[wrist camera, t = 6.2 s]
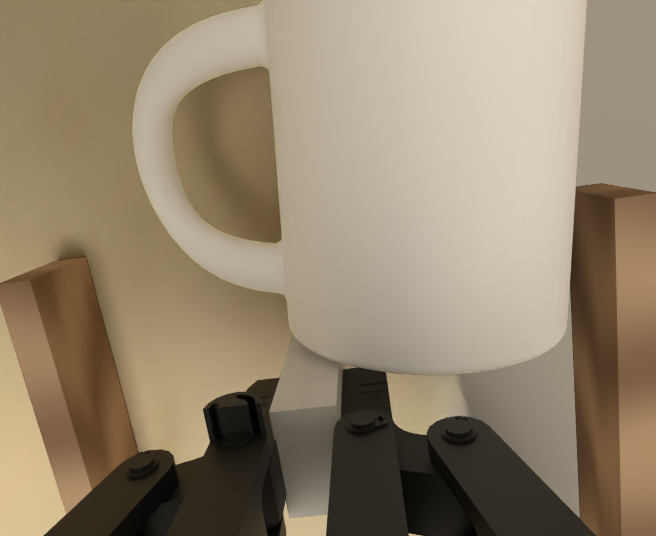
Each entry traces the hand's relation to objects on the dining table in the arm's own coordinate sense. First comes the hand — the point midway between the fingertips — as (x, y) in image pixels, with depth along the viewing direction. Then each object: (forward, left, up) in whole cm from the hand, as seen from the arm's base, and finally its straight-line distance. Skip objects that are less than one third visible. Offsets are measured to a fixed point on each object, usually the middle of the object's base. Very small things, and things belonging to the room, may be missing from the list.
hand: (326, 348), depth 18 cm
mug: (-6, +2, -3) cm, 7 cm away
